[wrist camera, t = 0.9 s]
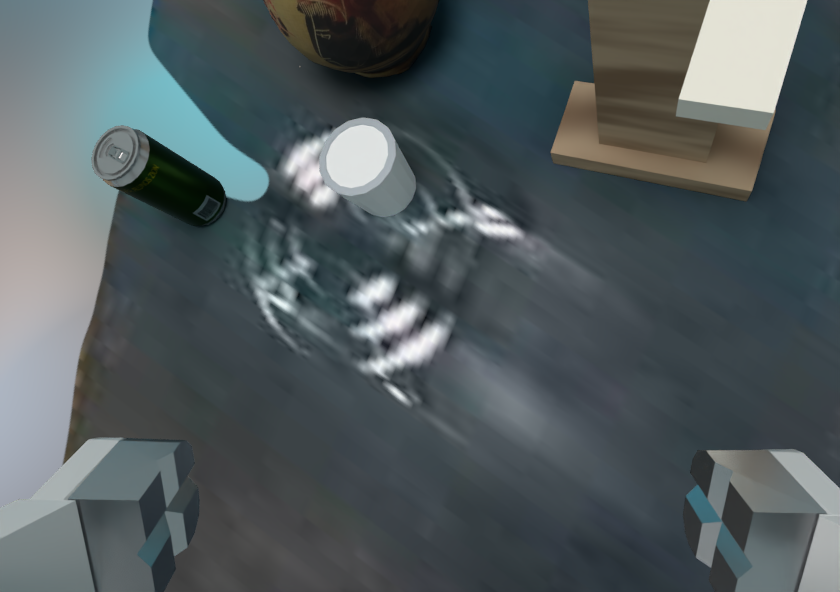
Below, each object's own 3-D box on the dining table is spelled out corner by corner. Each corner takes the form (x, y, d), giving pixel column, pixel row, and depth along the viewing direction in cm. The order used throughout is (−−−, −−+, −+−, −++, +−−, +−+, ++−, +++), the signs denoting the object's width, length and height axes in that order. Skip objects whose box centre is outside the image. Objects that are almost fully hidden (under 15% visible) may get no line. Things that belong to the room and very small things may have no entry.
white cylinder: (436, 169, 54) (410, 132, 47) (399, 235, 54) (369, 208, 47) (375, 143, 56) (343, 106, 50) (340, 207, 56) (303, 177, 50)
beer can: (237, 189, 60) (151, 134, 49) (211, 236, 60) (119, 191, 49) (201, 171, 62) (110, 114, 51) (176, 216, 62) (79, 169, 51)
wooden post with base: (746, 201, 45) (892, -72, 21) (553, 162, 50) (490, -89, 26) (769, 123, 46) (937, -229, 21) (576, 93, 51) (536, -214, 27)
